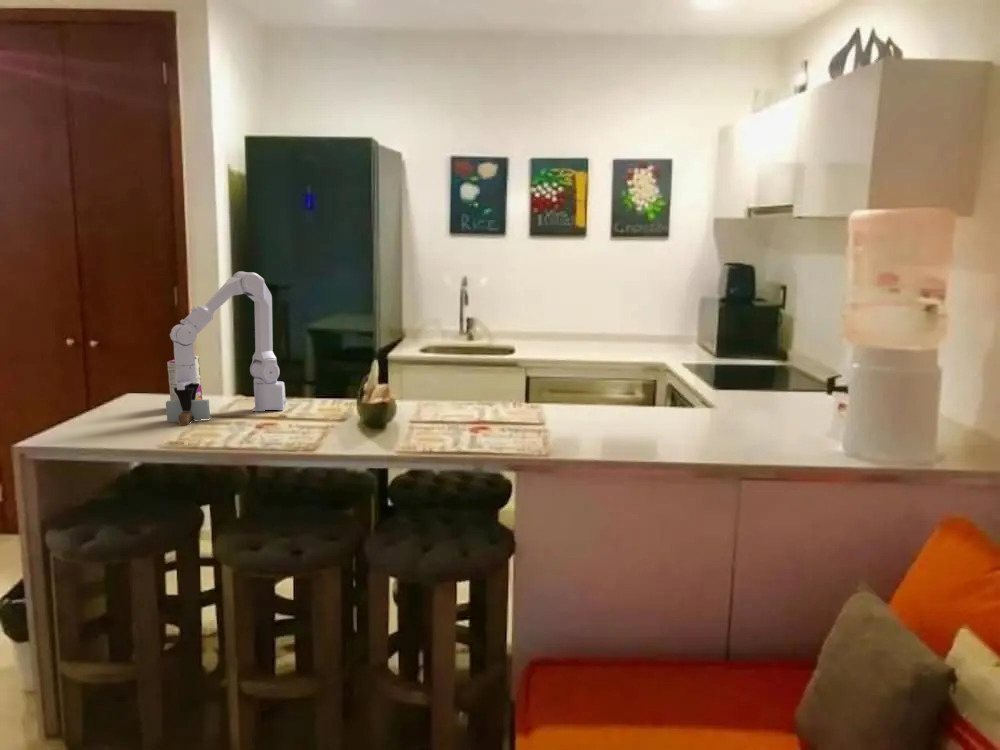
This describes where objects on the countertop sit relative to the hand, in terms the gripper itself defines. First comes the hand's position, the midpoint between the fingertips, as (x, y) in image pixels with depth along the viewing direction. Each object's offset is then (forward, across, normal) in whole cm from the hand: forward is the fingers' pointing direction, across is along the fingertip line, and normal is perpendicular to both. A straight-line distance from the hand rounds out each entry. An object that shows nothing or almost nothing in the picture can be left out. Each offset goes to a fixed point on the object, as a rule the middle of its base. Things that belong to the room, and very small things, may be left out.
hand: (188, 409), depth 260 cm
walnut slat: (+3, 0, 0) cm, 3 cm away
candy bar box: (+4, -18, -5) cm, 19 cm away
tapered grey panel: (+3, 0, 0) cm, 3 cm away
